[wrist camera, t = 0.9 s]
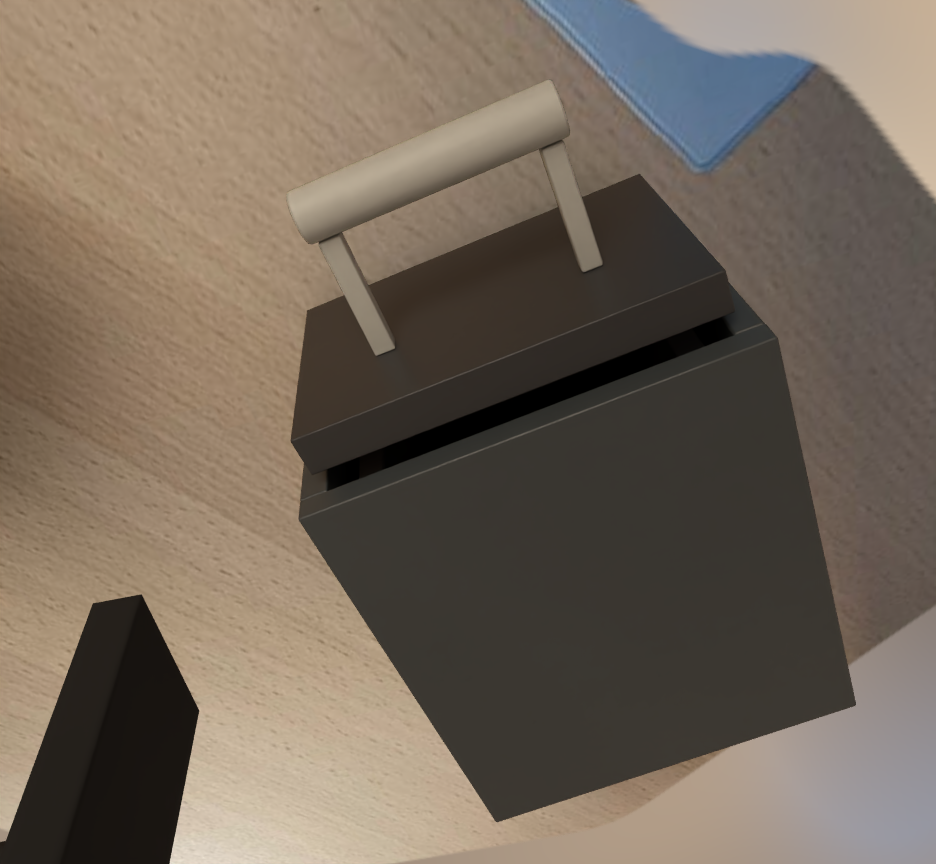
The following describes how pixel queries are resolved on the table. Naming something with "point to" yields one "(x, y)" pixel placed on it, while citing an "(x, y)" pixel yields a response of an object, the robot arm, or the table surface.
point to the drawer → (488, 295)
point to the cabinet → (601, 575)
